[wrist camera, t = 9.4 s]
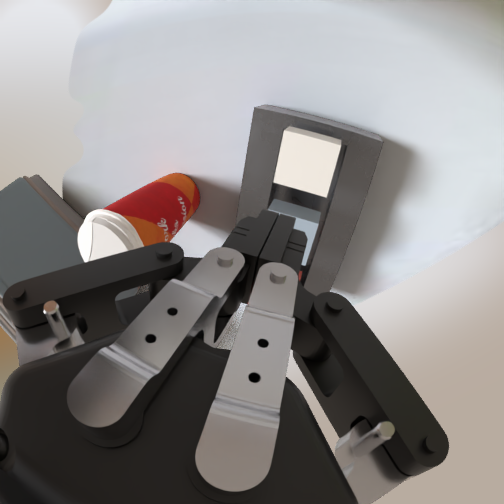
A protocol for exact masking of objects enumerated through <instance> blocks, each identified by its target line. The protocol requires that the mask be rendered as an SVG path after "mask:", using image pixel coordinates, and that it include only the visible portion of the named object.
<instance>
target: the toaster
mask: <svg viewBox="0 0 504 504" xmlns="http://www.w3.org/2000/svg"><path fill="white" fill-rule="evenodd" d="M83 223H84V219H83V218H82V217H81V216H80V215H79V214H78V213H77V212H76V211H75V210H73V209H72V208H71V207H70V206H69V205H68V204H67V203H66V202H65V201H64V200H63V199H62V198H61V197H60V196H59V195H58V194H57V193H56V192H55V191H54V190H53V189H52V188H51V187H50V186H49V185H48V184H47V183H46V182H45V181H44V180H43V179H42V178H41V177H40V176H39V175H34V176H32V177H30V178H28V177H26V176H24V177H23V178H18V179H17V180H15V181H14V182H12V183H11V184H9V185H8V186H7V187H5V188H4V189H3V190H1V191H0V326H1V327H2V328H3V329H4V330H5V332H6V333H7V334H8V335H9V336H10V337H11V338H12V339H13V340H14V341H15V343H16V344H17V341H16V330H15V328H14V326H13V324H12V322H11V319H10V317H9V315H8V313H7V311H6V309H5V307H4V305H3V302H2V301H3V295H4V293H5V292H6V290H7V289H8V288H9V287H10V286H12V285H13V284H15V283H17V282H20V281H23V280H27V279H30V278H33V277H37V276H40V275H43V274H47V273H50V272H54V271H57V270H60V269H64V268H67V267H71V266H74V265H78V264H81V263H85V262H84V260H83V258H82V256H81V253H80V250H79V247H78V232H79V229H80V227H81V225H82V224H83ZM140 287H141V286H139V287H136V288H133V289H129V290H126V291H123V292H121V293H119V294H118V295H117V296H116V298H115V301H117V300H121V299H124V298H128V297H131V296H134V295H136V294H137V292H138V290H139V289H140Z"/></svg>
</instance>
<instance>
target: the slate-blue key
mask: <svg viewBox="0 0 504 504" xmlns="http://www.w3.org/2000/svg"><path fill="white" fill-rule="evenodd" d="M268 210H270V211H274V212H277V213H279V215H280V213H281V214H285V215H288V216H292V217H295V218H296V221H295V225H294V229H297V230H300V231H303V232H305V234H306V236H307V238H308V241H307V245H306V249H305V253H304V257H303V260H302V264H301V265H304V266H305V265H306V262H307V259H308V256H309V253H310V250H311V247H312V244H313V241H314V237H315V234H316V231H317V228H318V225H319V220H320V215H321V212H319V211H316V210H312V209H309V208H306V207H302V206H299V205H295V204H292V203H288V202H285V201H281V200H278V199H274V200H273V201H272V203H271V205H270V206H269V208H268Z"/></svg>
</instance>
